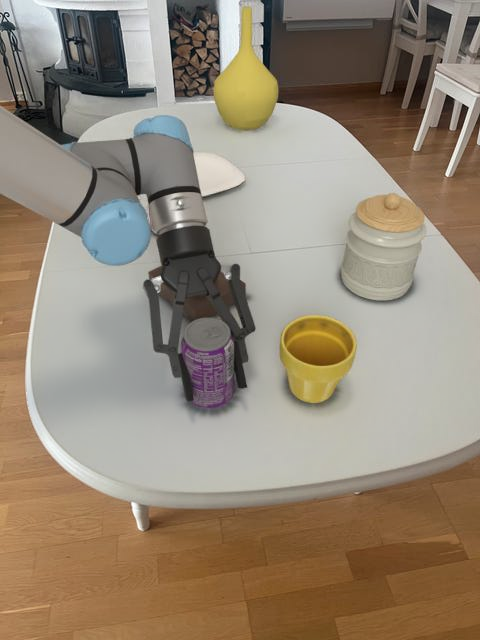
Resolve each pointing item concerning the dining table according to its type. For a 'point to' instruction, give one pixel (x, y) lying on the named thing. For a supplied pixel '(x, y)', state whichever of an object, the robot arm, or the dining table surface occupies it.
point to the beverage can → (209, 361)
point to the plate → (216, 173)
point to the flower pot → (316, 355)
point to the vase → (245, 85)
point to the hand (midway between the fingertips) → (216, 393)
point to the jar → (383, 247)
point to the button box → (198, 297)
